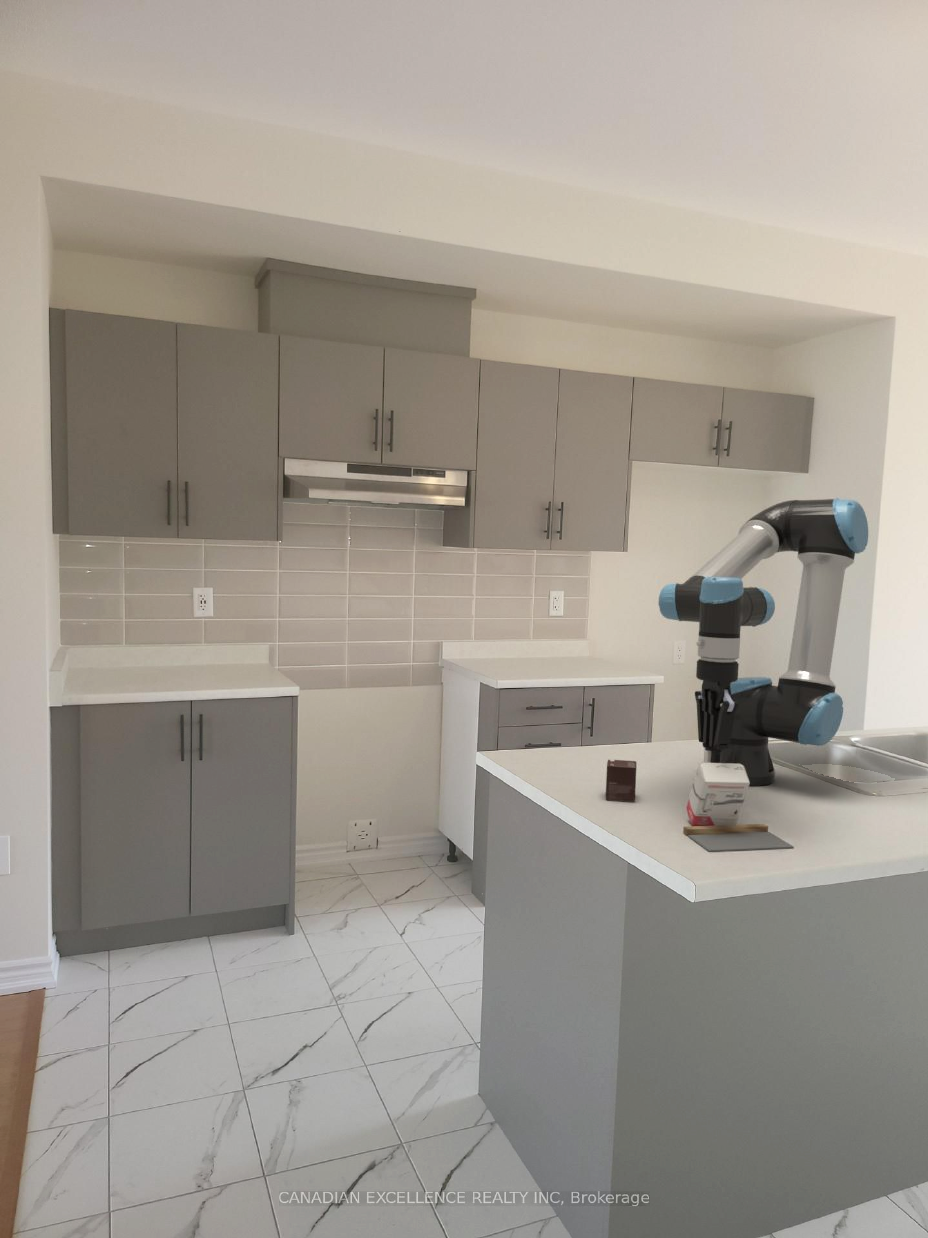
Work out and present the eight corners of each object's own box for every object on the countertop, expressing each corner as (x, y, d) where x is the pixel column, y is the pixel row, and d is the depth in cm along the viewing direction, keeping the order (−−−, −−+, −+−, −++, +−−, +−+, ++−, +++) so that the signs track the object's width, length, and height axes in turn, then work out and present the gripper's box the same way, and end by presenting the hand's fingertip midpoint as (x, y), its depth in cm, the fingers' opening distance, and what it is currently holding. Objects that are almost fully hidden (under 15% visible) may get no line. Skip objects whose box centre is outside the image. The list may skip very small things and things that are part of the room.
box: (635, 803, 177) (636, 767, 176) (605, 800, 178) (606, 765, 178) (635, 795, 183) (636, 760, 182) (606, 792, 184) (607, 758, 184)
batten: (763, 830, 161) (763, 823, 161) (767, 832, 160) (768, 826, 160) (683, 833, 158) (683, 826, 158) (686, 835, 157) (687, 829, 157)
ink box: (690, 826, 163) (703, 781, 156) (685, 806, 167) (697, 762, 160) (736, 827, 163) (751, 782, 156) (729, 807, 167) (743, 763, 160)
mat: (769, 833, 159) (769, 832, 159) (793, 848, 151) (793, 846, 151) (688, 836, 156) (688, 835, 156) (708, 852, 148) (708, 850, 148)
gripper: (684, 655, 168) (677, 775, 170) (715, 663, 155) (708, 793, 157) (720, 655, 170) (713, 774, 171) (754, 663, 157) (746, 792, 158)
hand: (711, 783), depth 164 cm, fingers closed
